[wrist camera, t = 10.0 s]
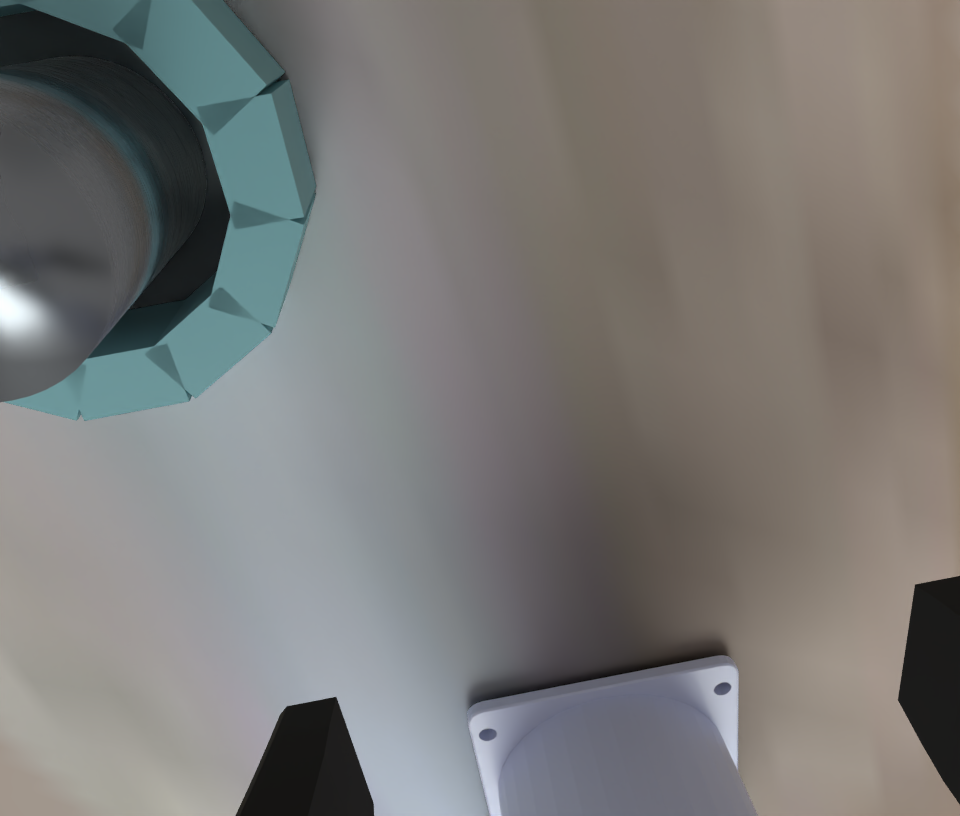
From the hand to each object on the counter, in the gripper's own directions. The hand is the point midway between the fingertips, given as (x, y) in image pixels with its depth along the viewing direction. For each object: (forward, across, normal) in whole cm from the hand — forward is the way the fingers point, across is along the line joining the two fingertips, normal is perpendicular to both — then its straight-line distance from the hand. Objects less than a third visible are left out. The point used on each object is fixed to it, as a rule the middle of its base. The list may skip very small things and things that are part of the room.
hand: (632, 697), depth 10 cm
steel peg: (+9, +8, -6) cm, 13 cm away
